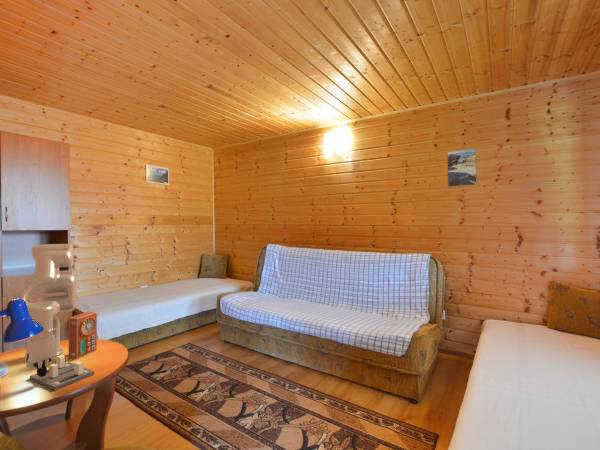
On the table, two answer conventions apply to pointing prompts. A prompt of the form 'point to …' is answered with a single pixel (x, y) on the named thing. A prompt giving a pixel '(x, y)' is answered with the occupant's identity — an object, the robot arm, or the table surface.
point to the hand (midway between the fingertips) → (41, 375)
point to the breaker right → (79, 368)
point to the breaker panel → (62, 377)
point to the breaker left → (61, 361)
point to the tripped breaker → (53, 370)
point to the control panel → (82, 334)
